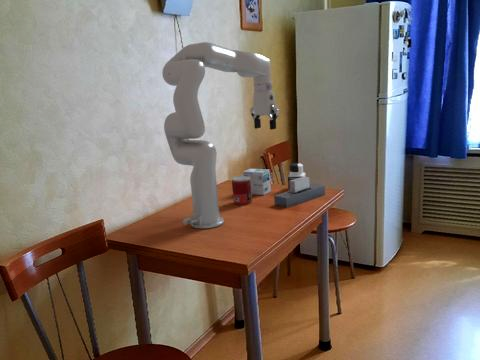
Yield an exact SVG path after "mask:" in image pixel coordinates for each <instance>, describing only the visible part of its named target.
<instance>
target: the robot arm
mask: <svg viewBox="0 0 480 360" xmlns="http://www.w3.org/2000/svg"><path fill="white" fill-rule="evenodd" d="M206 68H209V69H214V70H217V71H220V72H225V73H237V75H238V76H240V77H241V78H252V79H253V80H252V81H253V82H252V83H253V98H252V99H253V100H252V107H251V108H250V109H249V112H250V114H251V117H252V119H253V125H254V126H253V127H254V129H256V130H257V129H261V127H262V126H261V125H262V123H261V118H260V117H261V116H265V117H266V116H268V118H269V122H268V123H269V129H270V130H271V131H272V130H276V129H277V119H278V116H279V113H280V108H278V107H277V104H276V98H275V93H274V90H273V84H272V72H271V71H272V69H271V60H270V58H269V57H266V56H264V55H262V54H258V53H255V52H250V51H242V50H238V49H230V48H227V47H223V46H220V45H218V44H214V43H212V42H208V41H207V42H206V41H205V42H198V43H190V44H187V45H185V46H183V47H182V49H180V50H179V51H178V52H177V53H176V54H175V55H173V56H172V57H171V58H170V59H169V60H168V61H167V62H166V63H165V64H164V65H163V68H162V71H161V73H162V79H163V80H164V82H165V83H166V84H168V85H169V86H172V87H174V86H175V89H174V92H173V97H172V102H173V107H174V111H175V112H171V113H169V114H168V115H167V116H166V118H165V120H164V123H163V129H164V135H165V139H166V140H167V144H168V147H169V150H170V153H171V155H172V158H173V159H174V161H175V162H176V163H178V164H179V165H182V166H190V167H191V166H192V170H191V174H190V176H189V178H190V179H189V180H190V182H189V183H190V189H191V198H192V208H193V211H192V212H193V213H191V214H190V215H191V216H189V217H187V218H184V219H182V223H183V224H184V225H188V224H190V226H191V227H192V228H195V229H201V230H202V229H203V230H205V229H212V228H217V227H220V226H222V225H223V224H224V222H225V219H224V217H223V216H220V208H219V207H220V206H219V197H218V185H217V177H216V175H217V174H216V165H217V164H216V163H217V154H218V153H217V148H216V146H215V145H214V144H213V143H212V142H211V141H208V140H202V139H200V138H202V137H203V136H204V134H205V131H206V125H205V122H204V118H203V117H204V116H203V114H202V111H201V107H200V103H199V99H198V98H199V97H198V94H199V93H198V92H199V89H200V86H201V84H202V82H203V80H204V77H205V75H206Z"/></svg>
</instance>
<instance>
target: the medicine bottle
mask: <svg viewBox="0 0 480 360" xmlns="http://www.w3.org/2000/svg"><path fill="white" fill-rule="evenodd" d="M301 177H307V176H306V172H304V164H302V163H299V162H295V163H291V164H290V165H289V174H288V176H287V184H288V185H287V188H288V190H287V191H290V184H289V181H291V180H294V179H297V178H301Z"/></svg>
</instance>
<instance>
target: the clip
mask: <svg viewBox="0 0 480 360" xmlns="http://www.w3.org/2000/svg"><path fill="white" fill-rule="evenodd" d="M289 184H290V193H292V194H298V191H301V190H310V187H309V184H310V177H308V176H306V177H301V178H297V179H294V180H291V181H289Z"/></svg>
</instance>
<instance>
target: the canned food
mask: <svg viewBox="0 0 480 360" xmlns="http://www.w3.org/2000/svg"><path fill="white" fill-rule="evenodd" d="M231 186H232V197H233V199H232V200H233V203H234V205H236V206H246V205H250V204H251V203H252V201H253V197H252V195H253V194H251V181H250V177H248V176H243V175H239V176H235V177H232V178H231Z"/></svg>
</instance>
